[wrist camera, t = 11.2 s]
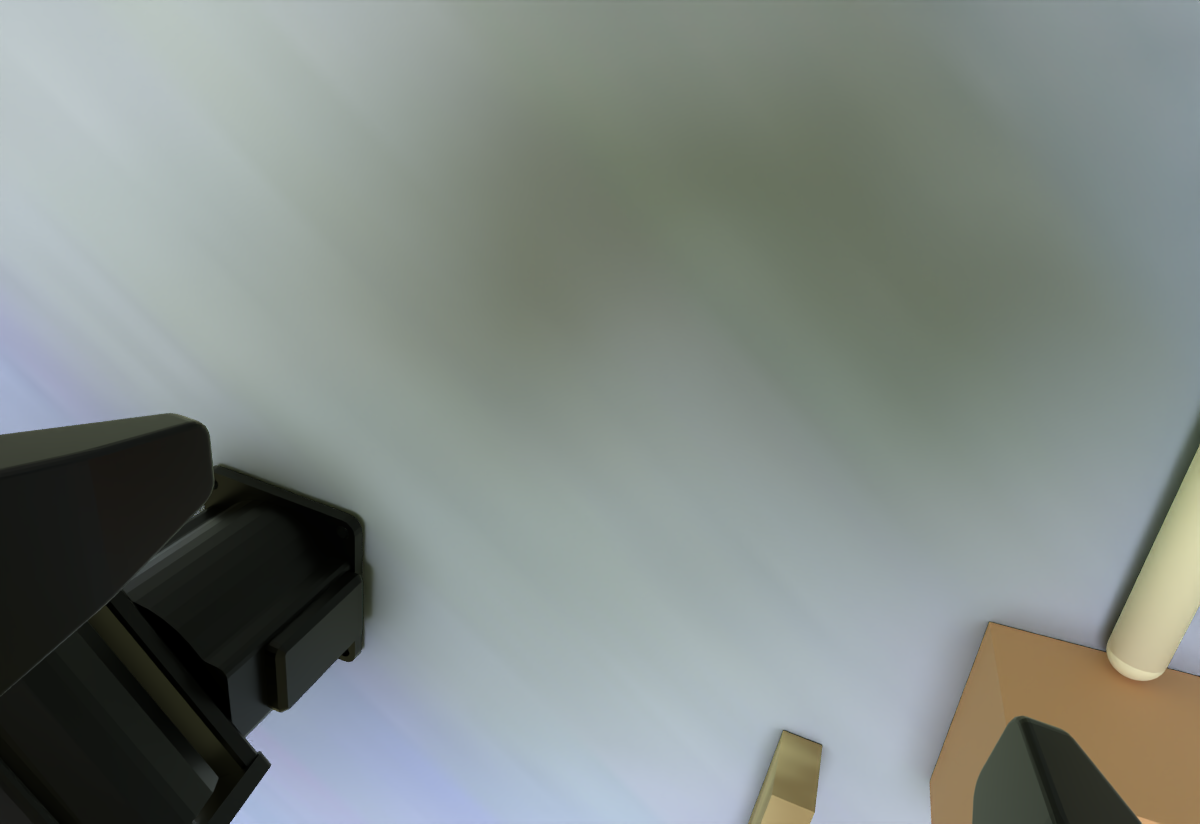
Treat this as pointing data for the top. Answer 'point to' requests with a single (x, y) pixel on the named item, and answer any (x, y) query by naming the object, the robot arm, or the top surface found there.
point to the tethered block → (1098, 689)
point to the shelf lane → (789, 783)
